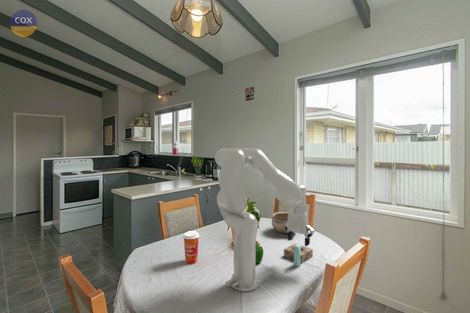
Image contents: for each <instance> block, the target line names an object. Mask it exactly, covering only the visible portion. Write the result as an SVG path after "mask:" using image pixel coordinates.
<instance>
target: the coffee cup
mask: <svg viewBox="0 0 470 313" xmlns="http://www.w3.org/2000/svg"><path fill="white" fill-rule="evenodd" d="M182 237H183V244H184V260H185V263H186V264H187V265H194V264H196V263H197V262H198V256H199V255H198V252H199V251H198V250H199V237H200V234H199V232H198V231H195V230H189V231H185V232H184V233H183V235H182Z"/></svg>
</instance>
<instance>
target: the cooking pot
mask: <svg viewBox="0 0 470 313" xmlns="http://www.w3.org/2000/svg"><path fill="white" fill-rule="evenodd" d="M288 214H289V211H288V212H287V211H279V212H277V211H276V212H274V213H273V214H272V219H271V226H272V227H273V229H274V230H275V231H277V232H278V233H280V234H281V235H288V233H287V230H286V229H285V226H284V224H283V223H284V222H287V221H288Z"/></svg>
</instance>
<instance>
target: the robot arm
mask: <svg viewBox="0 0 470 313" xmlns="http://www.w3.org/2000/svg"><path fill="white" fill-rule="evenodd" d="M214 162H215V164H216V165H217V166H218V167H221V168H220V171H219V174H218V185H219V188H220V190H219V191H218V193H217V195H216V202H217V206H218V208H219V211H220V214H221V216H222V218H223V220H224V222H225V224H226V225H227V227H229V228H230V229H231V230H234V231H235V233H236V234H235V237H234V241H233V274H231V278H230V279H229V280H227V281H225V282H224V283H225V286H226V287H230V286H231V287H232V289H234V290H235V291H239V292H251V291H254V290H256V289H257V288H258V287H259V285H260V281H259V280H260V279H259V278H258V277H257V276H256V264H255V244H257V242H256V241H257V240H256V238H257V233H258V228H259V224H258V223H259V222H258V220H257V218H256V216H254V214H252V213H250V212H249V211H246V209H247V208H248V207H247V206H248V200H247V197H246V194H245V192H244V189H243V186H242V184H241V181H240V173H241V170H242V168H243V167H247V168H248V167H249V168H250V169H251V170H252V171H253V172H254V173H255V174H256V175H257V176H258V177H259V178H260V180H262V182H263V183H265V184H266V185H269V187H272V188H275V189H274V196H275V198H276V199H277V200H279V201H282V202H286V203H288V204H289V205H288V208H289V209H290V210H289V211H288V212H289V214H288V221H287V222H284V223H283V224H284V226H285V229H286V230H287V233H288V234H287V241H288V242H289V241H291V240H293V233H297V234H299V235H304V237H305V238H304V247H308V246H309V245H310V243H311V240H310V238H311V237H312V236H313V235H314V233H315V232H316V230H315V229H313V227H311V226H310V224H309V223H310V222H309V221H310V220H309V215H308V212H307V198H306V197H307V194H306V193H307V190H306V188H307V187H306V186H305V185H303V184H297V182H295V181H294V180H293V179H291V178H290V177H289V176H287V175H286V174H285V173H283V172H282V171H280V170H279V169H277V167H276V166H275V165H274V164H273V163H272V162H271V161H270V159H269V158H268V157H267V155H266V154H265V153H264V152H263V151H262V150H261V149H259V148H246V147H245V148H227V147H226V148H221V149H218V150H217V151H216V153H215V155H214Z"/></svg>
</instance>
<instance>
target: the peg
mask: <svg viewBox="0 0 470 313" xmlns="http://www.w3.org/2000/svg"><path fill="white" fill-rule="evenodd" d="M301 246H302V245H301ZM301 246H300V244H298V245H294V260H293V266H294V267H296V268H298V267H299V268H300V267H301V263H300V258H301Z"/></svg>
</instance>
